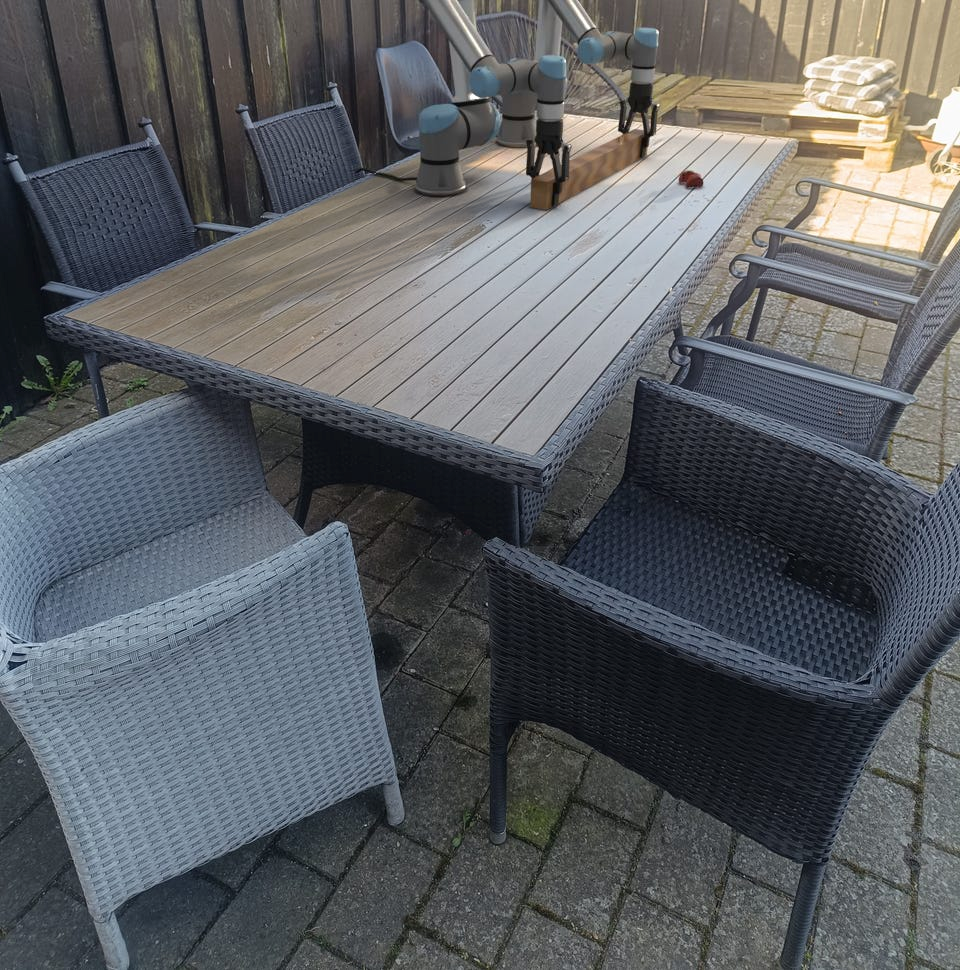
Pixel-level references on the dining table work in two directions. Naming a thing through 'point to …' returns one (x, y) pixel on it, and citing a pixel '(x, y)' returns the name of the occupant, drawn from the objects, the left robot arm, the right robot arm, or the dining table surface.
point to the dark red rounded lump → (691, 179)
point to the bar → (588, 169)
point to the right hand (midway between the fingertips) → (634, 155)
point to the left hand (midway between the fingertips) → (545, 202)
